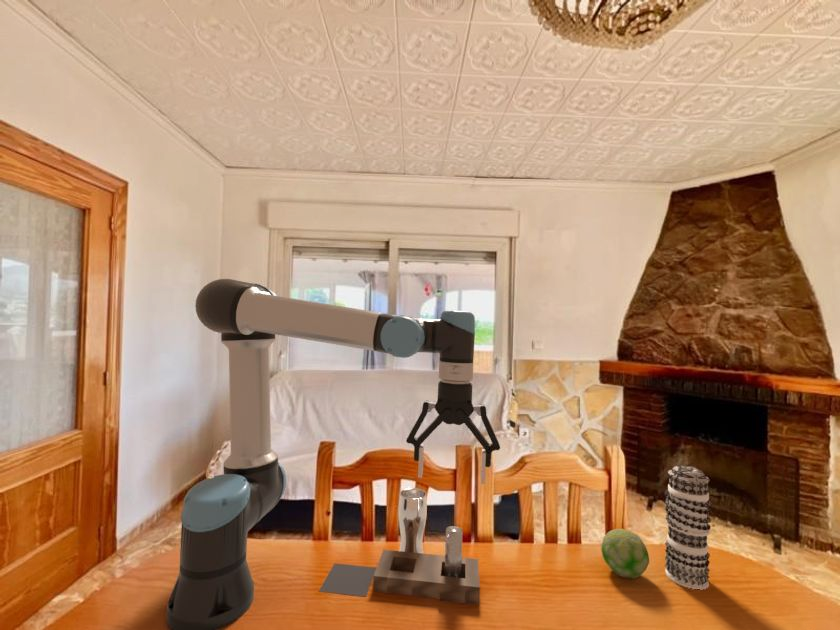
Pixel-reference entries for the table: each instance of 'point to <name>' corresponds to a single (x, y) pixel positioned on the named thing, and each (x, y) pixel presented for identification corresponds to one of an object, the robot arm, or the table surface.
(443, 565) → the socket block
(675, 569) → the decorative candle
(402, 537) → the beer glass
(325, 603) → the table surface
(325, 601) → the table surface
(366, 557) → the table surface
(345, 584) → the rubber mat
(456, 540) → the steel peg
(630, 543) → the decorative ball
